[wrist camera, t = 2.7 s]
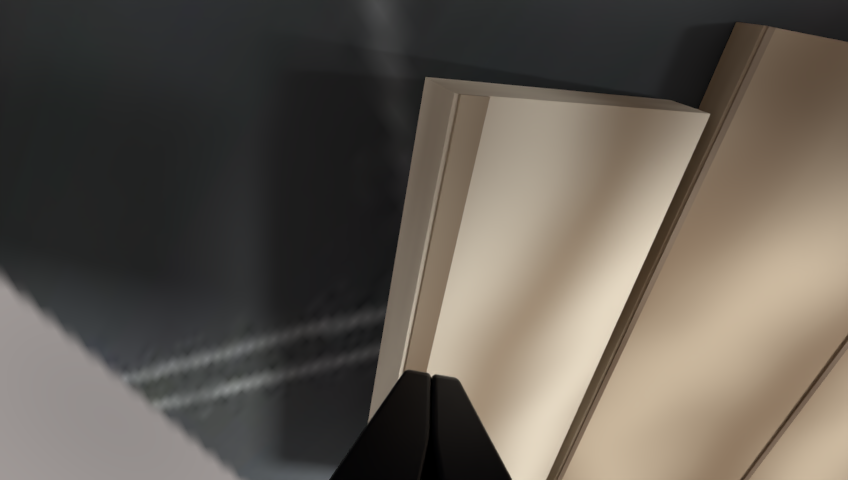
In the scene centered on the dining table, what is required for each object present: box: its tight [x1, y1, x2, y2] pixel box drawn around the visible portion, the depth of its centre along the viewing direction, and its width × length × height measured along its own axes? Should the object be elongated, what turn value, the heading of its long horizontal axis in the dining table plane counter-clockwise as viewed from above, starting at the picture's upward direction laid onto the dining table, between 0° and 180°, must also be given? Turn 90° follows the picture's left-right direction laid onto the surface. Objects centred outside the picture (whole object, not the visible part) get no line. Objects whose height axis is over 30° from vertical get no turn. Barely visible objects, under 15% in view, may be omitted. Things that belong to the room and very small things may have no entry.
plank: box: [368, 77, 710, 480], centre depth 14 cm, size 7×16×1 cm, turn 170°
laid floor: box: [546, 22, 848, 480], centre depth 16 cm, size 13×20×1 cm, turn 170°
